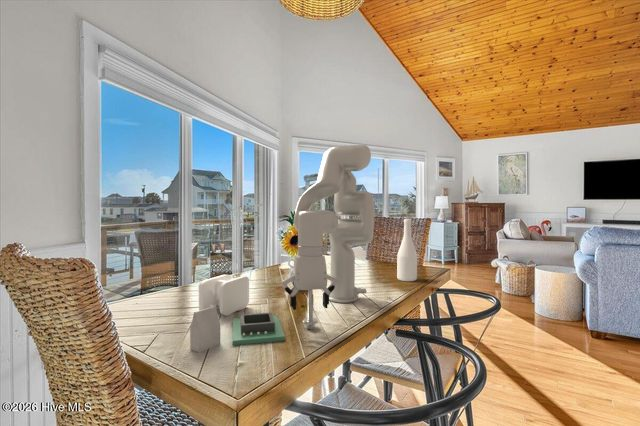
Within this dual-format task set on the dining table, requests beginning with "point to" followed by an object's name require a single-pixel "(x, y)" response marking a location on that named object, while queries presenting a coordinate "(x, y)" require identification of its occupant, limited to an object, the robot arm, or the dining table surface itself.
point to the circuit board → (257, 329)
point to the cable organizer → (224, 294)
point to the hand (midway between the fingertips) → (309, 307)
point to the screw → (310, 312)
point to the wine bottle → (407, 256)
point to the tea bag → (205, 330)
